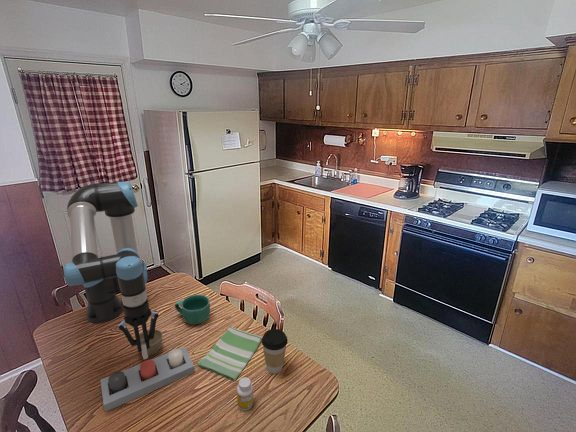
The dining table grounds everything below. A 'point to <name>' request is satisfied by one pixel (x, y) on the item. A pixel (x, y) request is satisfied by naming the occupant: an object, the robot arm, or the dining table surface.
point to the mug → (194, 309)
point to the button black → (117, 382)
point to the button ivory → (175, 358)
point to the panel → (148, 385)
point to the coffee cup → (274, 349)
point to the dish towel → (231, 353)
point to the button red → (147, 369)
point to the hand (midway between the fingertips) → (145, 356)
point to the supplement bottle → (245, 394)
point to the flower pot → (153, 342)
